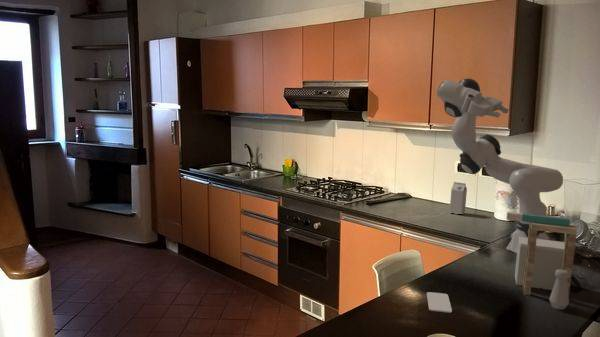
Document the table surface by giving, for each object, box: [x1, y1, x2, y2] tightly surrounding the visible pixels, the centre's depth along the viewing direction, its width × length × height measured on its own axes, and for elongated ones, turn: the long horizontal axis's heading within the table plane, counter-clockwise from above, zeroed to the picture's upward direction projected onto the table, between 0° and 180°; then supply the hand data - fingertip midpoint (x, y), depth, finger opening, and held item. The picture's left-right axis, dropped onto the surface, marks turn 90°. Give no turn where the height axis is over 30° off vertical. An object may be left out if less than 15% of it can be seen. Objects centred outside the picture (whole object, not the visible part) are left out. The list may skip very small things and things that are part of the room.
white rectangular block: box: [514, 237, 565, 291], centre depth 184 cm, size 10×16×16 cm, turn 70°
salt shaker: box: [548, 269, 570, 311], centre depth 164 cm, size 6×6×13 cm
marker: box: [506, 211, 571, 226], centre depth 173 cm, size 2×20×2 cm, turn 70°
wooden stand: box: [522, 222, 578, 296], centre depth 174 cm, size 7×14×26 cm, turn 70°
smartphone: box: [426, 291, 453, 314], centre depth 165 cm, size 7×1×15 cm
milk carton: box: [449, 181, 468, 214], centre depth 293 cm, size 7×7×19 cm
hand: (503, 113), depth 200 cm, fingers open, 8 cm apart
